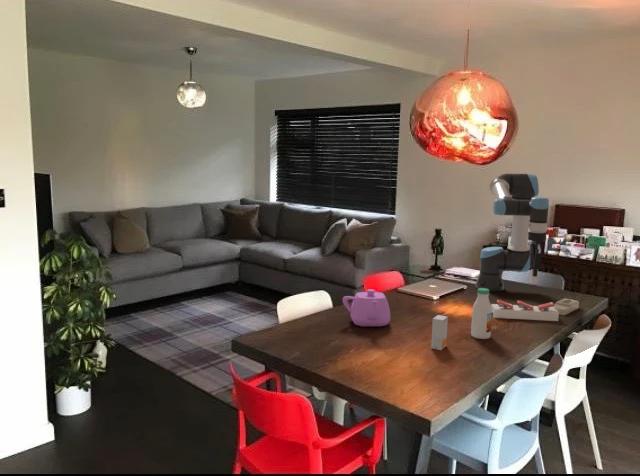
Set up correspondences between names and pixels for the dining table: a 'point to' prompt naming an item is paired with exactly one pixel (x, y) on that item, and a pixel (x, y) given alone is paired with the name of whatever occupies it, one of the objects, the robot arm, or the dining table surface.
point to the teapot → (368, 308)
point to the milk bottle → (481, 315)
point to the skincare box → (439, 332)
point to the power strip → (524, 312)
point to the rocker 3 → (545, 305)
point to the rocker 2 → (525, 304)
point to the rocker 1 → (505, 303)
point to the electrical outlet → (566, 306)
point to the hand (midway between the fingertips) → (533, 282)
